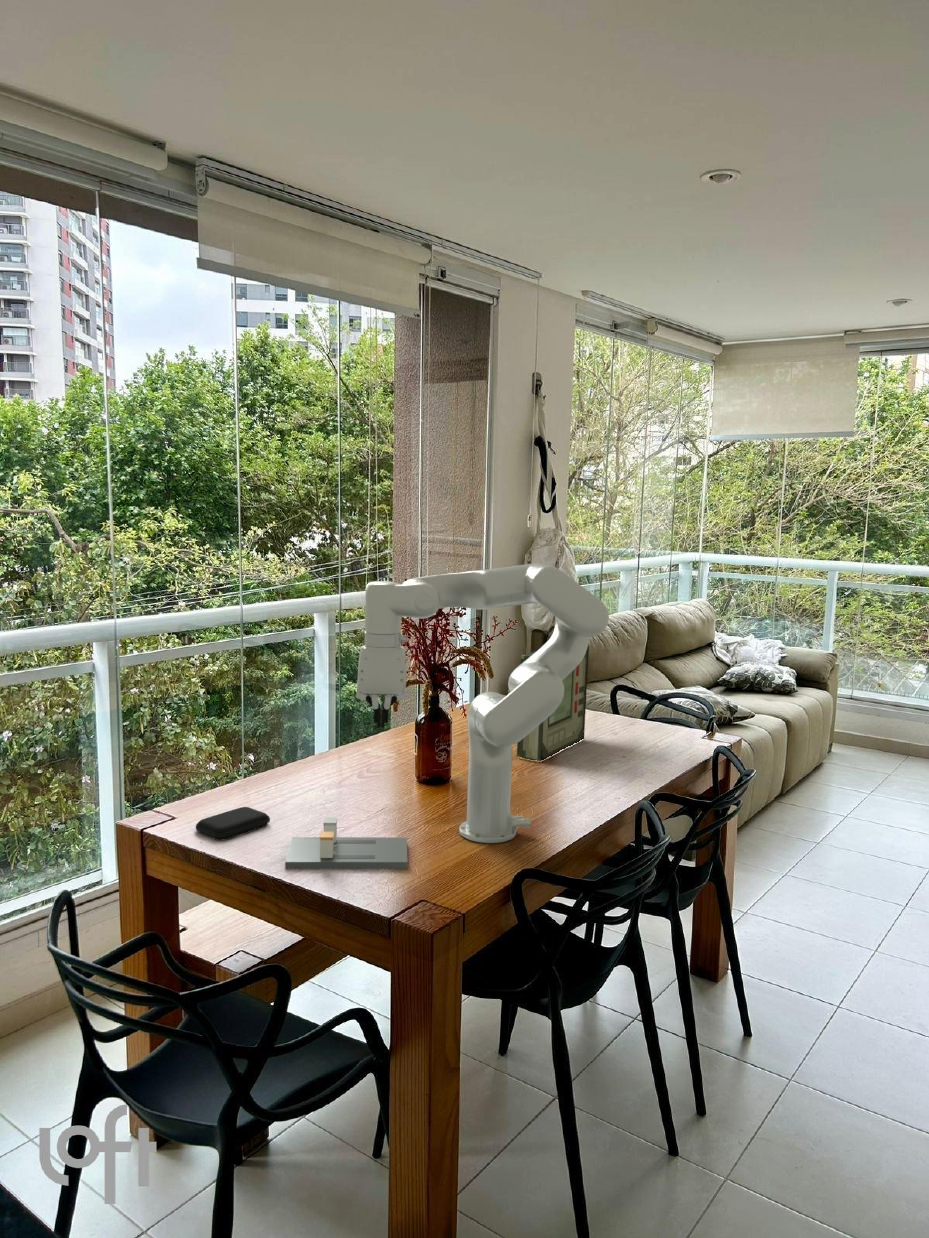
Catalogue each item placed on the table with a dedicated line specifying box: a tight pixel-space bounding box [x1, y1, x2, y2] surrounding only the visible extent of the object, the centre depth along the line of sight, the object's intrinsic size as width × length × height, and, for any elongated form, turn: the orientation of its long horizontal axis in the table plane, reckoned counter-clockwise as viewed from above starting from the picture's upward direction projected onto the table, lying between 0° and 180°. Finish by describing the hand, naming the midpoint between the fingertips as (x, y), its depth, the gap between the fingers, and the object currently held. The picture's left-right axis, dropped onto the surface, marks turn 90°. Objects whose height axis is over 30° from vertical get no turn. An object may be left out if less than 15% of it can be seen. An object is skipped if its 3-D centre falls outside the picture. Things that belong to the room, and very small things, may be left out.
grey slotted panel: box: [284, 836, 408, 870], centre depth 185 cm, size 24×13×2 cm, turn 94°
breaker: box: [323, 816, 338, 843], centre depth 188 cm, size 3×3×4 cm
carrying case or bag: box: [195, 806, 271, 841], centre depth 199 cm, size 11×3×15 cm
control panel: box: [516, 644, 590, 761], centre depth 268 cm, size 30×8×30 cm, turn 148°
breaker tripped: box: [319, 831, 334, 858], centre depth 180 cm, size 3×3×4 cm
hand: (380, 726), depth 191 cm, fingers closed
